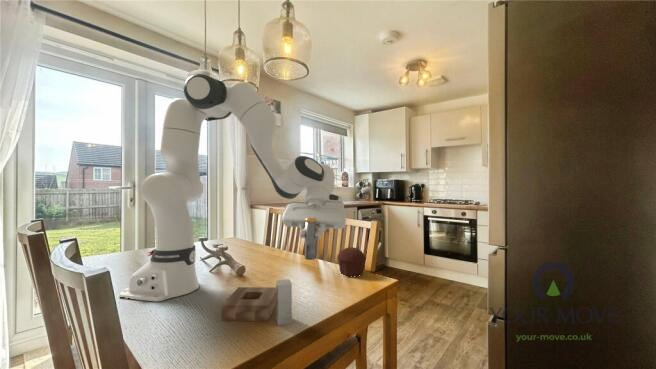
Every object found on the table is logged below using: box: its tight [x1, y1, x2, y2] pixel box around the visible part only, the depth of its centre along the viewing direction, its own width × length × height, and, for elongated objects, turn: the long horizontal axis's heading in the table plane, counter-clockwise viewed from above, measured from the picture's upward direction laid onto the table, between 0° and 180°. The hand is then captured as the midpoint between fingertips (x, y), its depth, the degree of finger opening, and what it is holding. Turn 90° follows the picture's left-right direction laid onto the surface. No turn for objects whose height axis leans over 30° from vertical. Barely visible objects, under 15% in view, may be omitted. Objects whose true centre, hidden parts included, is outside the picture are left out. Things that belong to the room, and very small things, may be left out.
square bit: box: [275, 278, 293, 327], centre depth 68 cm, size 3×3×10 cm
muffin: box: [336, 246, 367, 278], centre depth 104 cm, size 12×11×10 cm
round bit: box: [304, 218, 317, 261], centre depth 80 cm, size 3×3×12 cm
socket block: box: [221, 286, 276, 322], centre depth 74 cm, size 12×12×4 cm
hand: (309, 237), depth 79 cm, fingers closed on round bit, 3 cm apart
